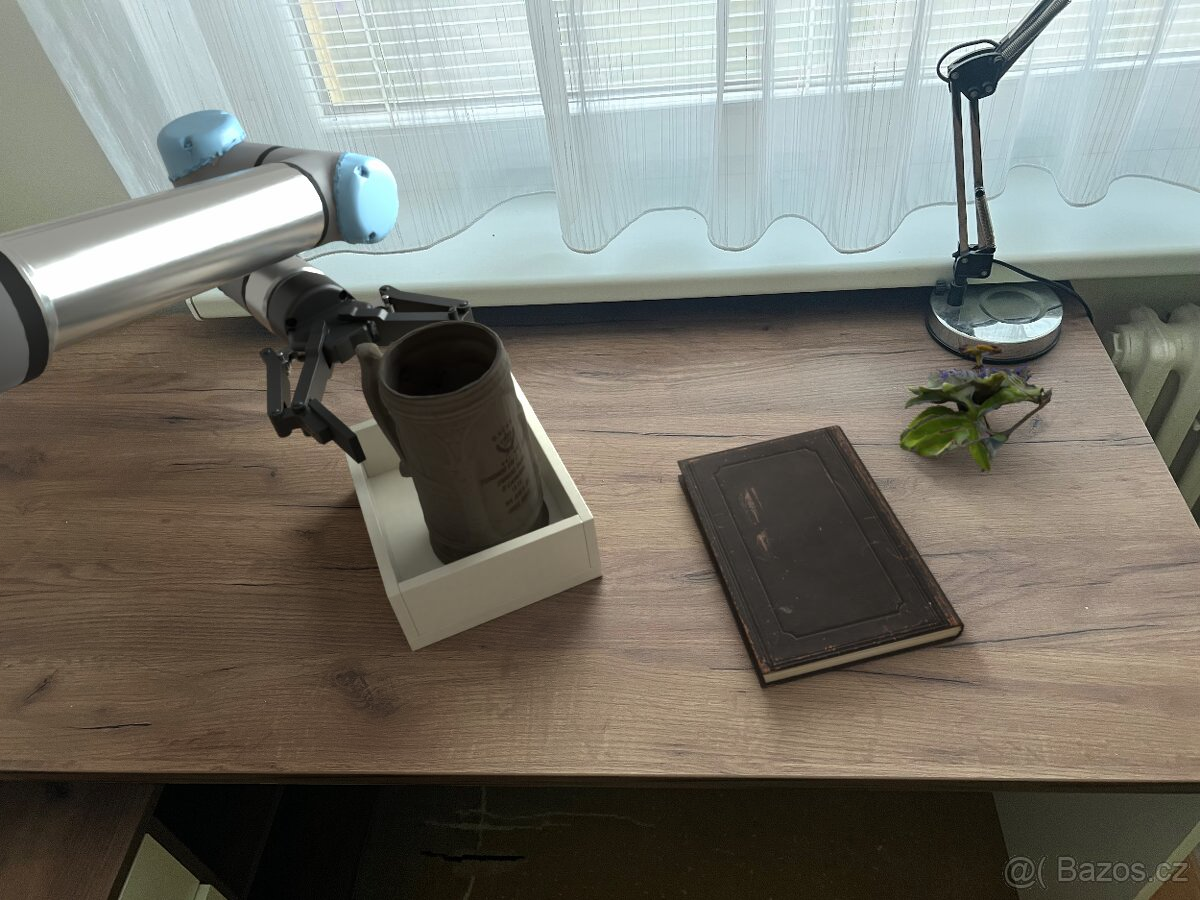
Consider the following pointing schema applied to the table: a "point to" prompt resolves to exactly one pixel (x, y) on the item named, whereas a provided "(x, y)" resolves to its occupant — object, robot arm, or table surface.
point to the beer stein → (457, 434)
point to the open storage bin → (483, 580)
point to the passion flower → (968, 407)
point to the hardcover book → (812, 557)
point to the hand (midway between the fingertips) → (429, 405)
